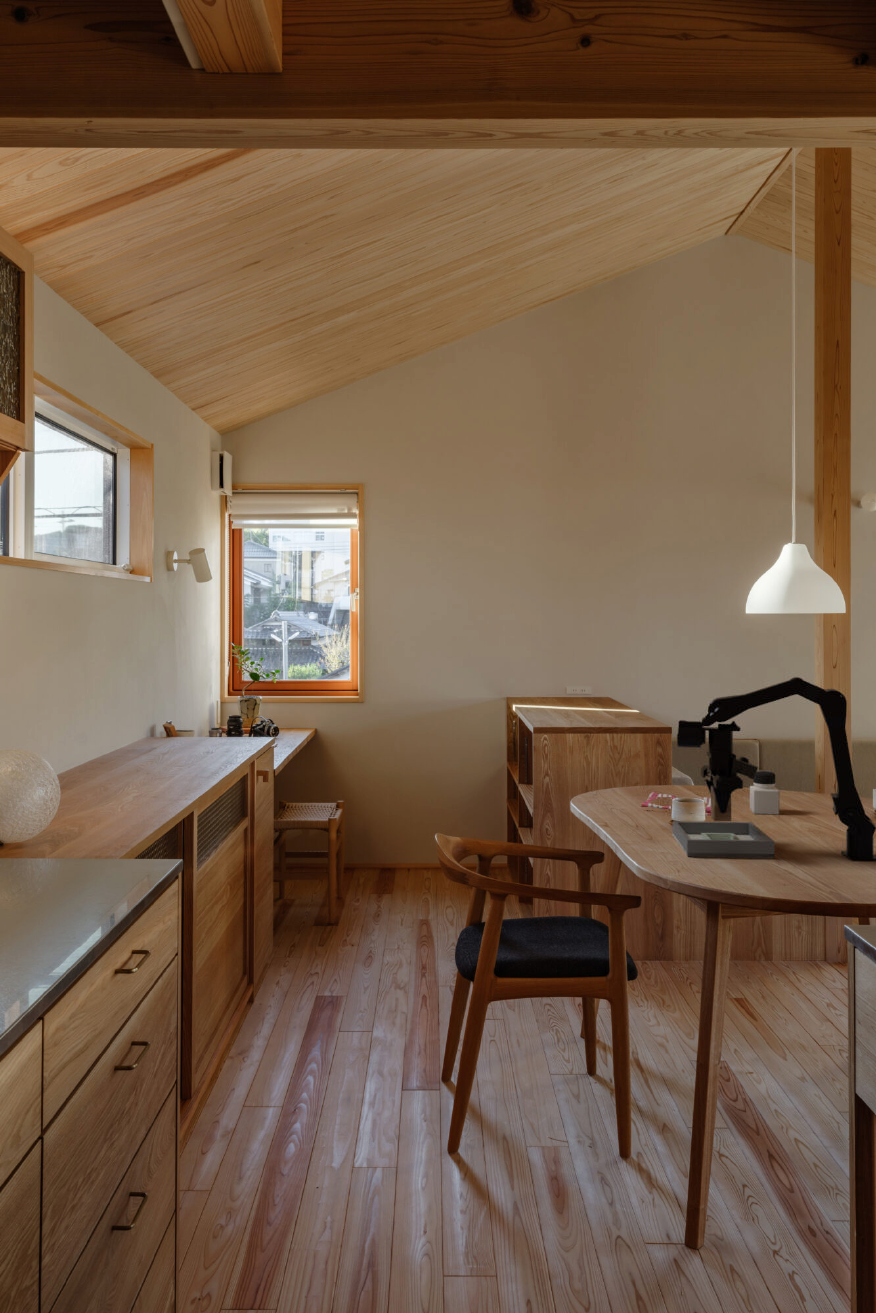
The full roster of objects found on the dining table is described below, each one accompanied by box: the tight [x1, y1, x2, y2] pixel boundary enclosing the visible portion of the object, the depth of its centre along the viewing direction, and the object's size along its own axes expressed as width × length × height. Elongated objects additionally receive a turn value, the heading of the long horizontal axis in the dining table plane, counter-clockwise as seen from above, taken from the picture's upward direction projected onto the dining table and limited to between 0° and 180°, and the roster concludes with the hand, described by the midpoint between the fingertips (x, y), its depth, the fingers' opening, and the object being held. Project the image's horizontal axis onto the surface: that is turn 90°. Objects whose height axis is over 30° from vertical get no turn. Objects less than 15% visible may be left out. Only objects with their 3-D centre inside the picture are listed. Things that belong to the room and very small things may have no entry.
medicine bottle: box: [749, 770, 780, 816], centre depth 248 cm, size 7×7×12 cm
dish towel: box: [640, 791, 711, 816], centre depth 255 cm, size 17×23×4 cm
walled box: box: [672, 821, 775, 859], centre depth 208 cm, size 20×20×4 cm
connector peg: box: [710, 787, 732, 822], centre depth 208 cm, size 4×4×8 cm
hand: (721, 811), depth 208 cm, fingers closed on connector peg, 4 cm apart
